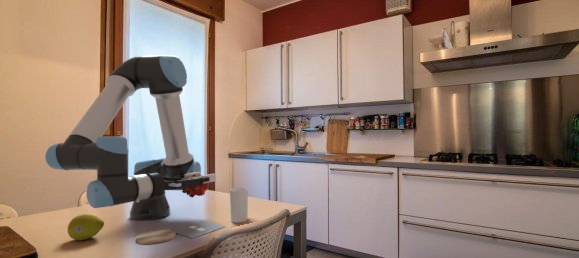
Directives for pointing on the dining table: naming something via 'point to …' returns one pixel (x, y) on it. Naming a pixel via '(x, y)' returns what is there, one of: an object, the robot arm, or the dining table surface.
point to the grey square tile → (196, 229)
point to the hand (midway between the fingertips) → (207, 176)
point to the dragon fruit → (195, 188)
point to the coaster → (155, 236)
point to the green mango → (84, 227)
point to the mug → (239, 204)
